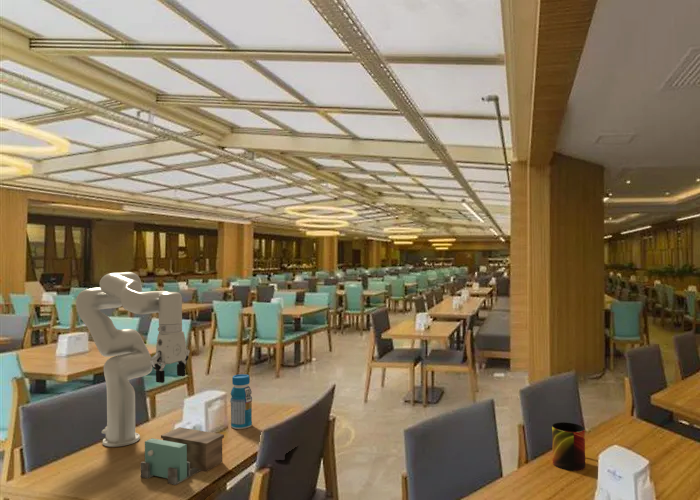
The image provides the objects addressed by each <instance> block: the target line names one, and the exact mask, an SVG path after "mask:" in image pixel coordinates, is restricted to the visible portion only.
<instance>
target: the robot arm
mask: <svg viewBox="0 0 700 500" xmlns="http://www.w3.org/2000/svg"><path fill="white" fill-rule="evenodd" d="M75 306H76V311H77V314H78V317H79V318H80V320H81V321H82V322H83V323H84V324H85V326H86V328H87V329H88V331H89V333H90V335H91V337H92V340H93V342H94V344H95V346H96V348H97V350H98V352H99V354H100V355H101V356H102V357H106V358H108V359H107V360H106V361H105V362H104V365H103V375H104V379H105V380H104V381H105V385H106V388H105V389H106V426H105V427H104V429H102V430H101V434H104V435H105V437H104V438H103V439H102V446H105V447H110V448H117V447H124V446H128V445H129V446H130V445H132V444H135V443H136V442H138V441H139V440H140V438H141V436H140V433H138V432H136V391H135V388H134V386H133V385H132V384H131V383H130V380H133V379H138V378H142V377H145V376H147V375H149V374H150V373H152V371H153V370H154V371H155V382H156V383H159V384H164V383H165V382H166V381H165V370H164V368H165V367H166V365H172V364H176V363H178V364H177V365H176V376H178V377H185V376H186V365H187V363H188V362H187V361H188V359H189V355H190V353H191V350H190V349H188V348H187V343H186V342H187V341H186V337H185V332H184V331H183V297H182V294H181V293H180V292H178V291H167V290H152V291H143V287H142V281H141V278H140V276H139V275H138V274H137V273H135V272H132V271H125V272H122V271H121V272H111V273H107V274H105V275H103V276H102V277H101V279H100V280H99V287H92V288H91V287H90V288H87V289H84V290H82V291H80V292H79V293H78V294H77V296H76V300H75ZM121 307H122V309H124V310H126V311H128V312H130V313H132V314H135V315H148V314H157V313H158V327H157V331H158V334H157V338H156V343H155V344H156V345H155V346H156V347H155V354H154V355H152V356H151V354H150V352H149V349H148V347H147V345H146V344H145V342H144V340H143V337H142V335H141V334H140V332H138V331H137V330H135V329H133V328H123V329H118V328H116V326H115V324H114V322H113V321H112V319H111V318H110V317H109V316H108V315H107V314H106V313H104V312H102V311H101V310H106V309H117V308H121Z"/></svg>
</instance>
